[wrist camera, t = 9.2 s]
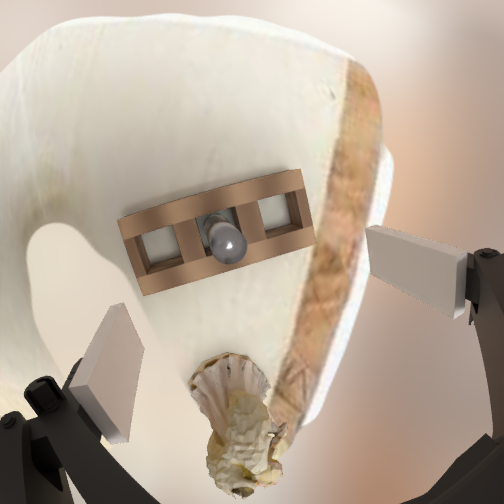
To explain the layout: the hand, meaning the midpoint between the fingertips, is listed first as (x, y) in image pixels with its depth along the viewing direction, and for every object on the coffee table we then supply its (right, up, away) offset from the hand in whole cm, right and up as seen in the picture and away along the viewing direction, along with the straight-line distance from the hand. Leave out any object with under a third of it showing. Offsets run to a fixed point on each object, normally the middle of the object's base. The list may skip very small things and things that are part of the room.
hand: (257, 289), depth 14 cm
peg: (-5, +5, +21) cm, 22 cm away
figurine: (-4, -18, +27) cm, 33 cm away
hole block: (-5, +5, +21) cm, 22 cm away
